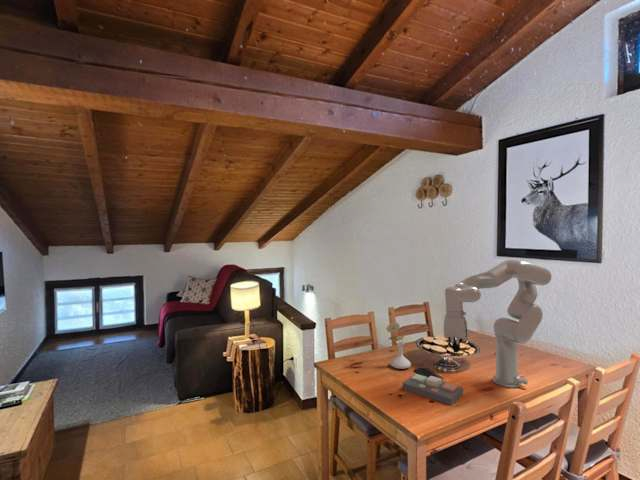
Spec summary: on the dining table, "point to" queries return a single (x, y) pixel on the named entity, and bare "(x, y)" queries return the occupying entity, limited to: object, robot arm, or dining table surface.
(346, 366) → the dining table surface
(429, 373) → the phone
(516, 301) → the robot arm
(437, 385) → the key cream
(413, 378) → the key sage
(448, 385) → the key terracotta
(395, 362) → the flower in vase
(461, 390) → the keypad
